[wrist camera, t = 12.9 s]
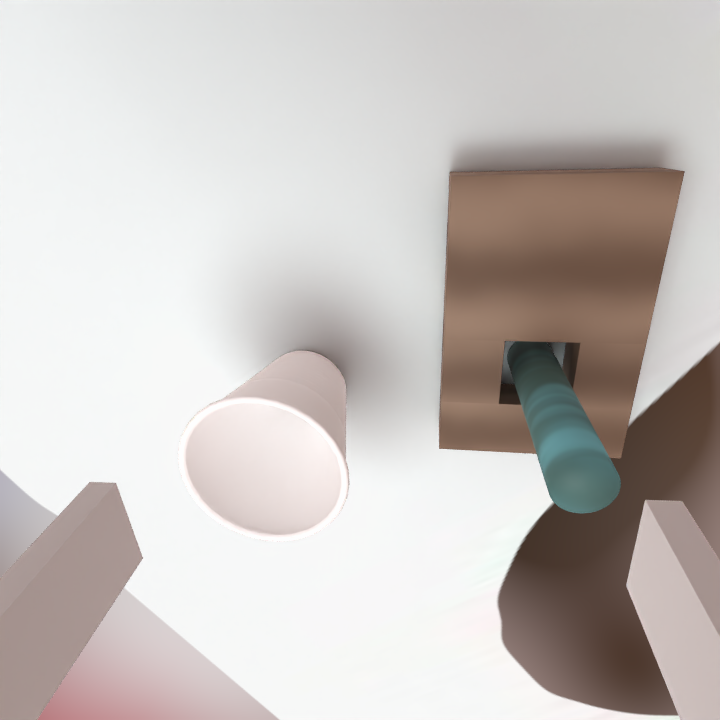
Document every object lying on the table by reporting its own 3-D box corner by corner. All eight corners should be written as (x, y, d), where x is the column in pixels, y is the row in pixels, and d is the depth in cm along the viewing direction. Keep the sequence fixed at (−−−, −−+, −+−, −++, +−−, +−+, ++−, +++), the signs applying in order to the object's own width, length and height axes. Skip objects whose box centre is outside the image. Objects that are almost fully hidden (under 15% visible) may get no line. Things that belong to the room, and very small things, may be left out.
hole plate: (449, 172, 30) (450, 176, 28) (661, 167, 29) (684, 171, 26) (439, 425, 38) (439, 448, 35) (606, 433, 36) (620, 458, 33)
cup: (395, 362, 36) (379, 448, 26) (339, 460, 40) (307, 566, 30) (270, 300, 36) (206, 366, 26) (227, 406, 40) (157, 498, 30)
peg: (509, 336, 34) (552, 455, 22) (555, 337, 34) (626, 460, 21) (505, 375, 35) (544, 510, 23) (549, 377, 35) (614, 515, 22)
